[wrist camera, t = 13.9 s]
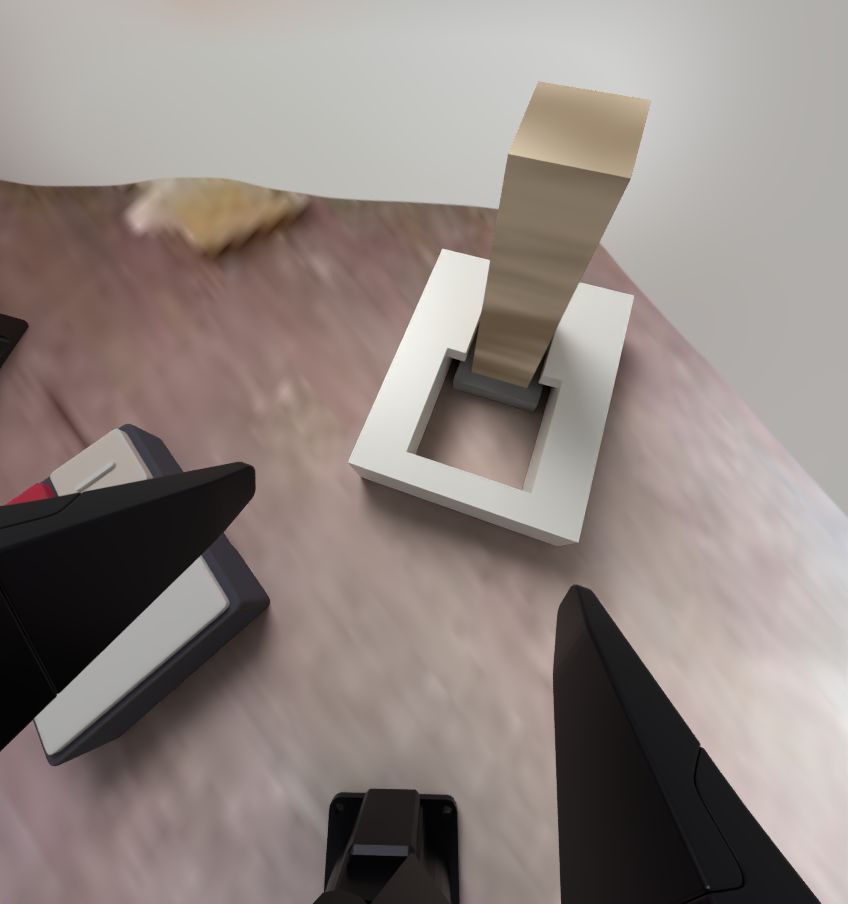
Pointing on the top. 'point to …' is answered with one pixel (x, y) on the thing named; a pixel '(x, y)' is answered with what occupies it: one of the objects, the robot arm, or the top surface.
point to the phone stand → (10, 334)
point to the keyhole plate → (563, 424)
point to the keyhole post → (548, 231)
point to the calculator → (157, 628)
